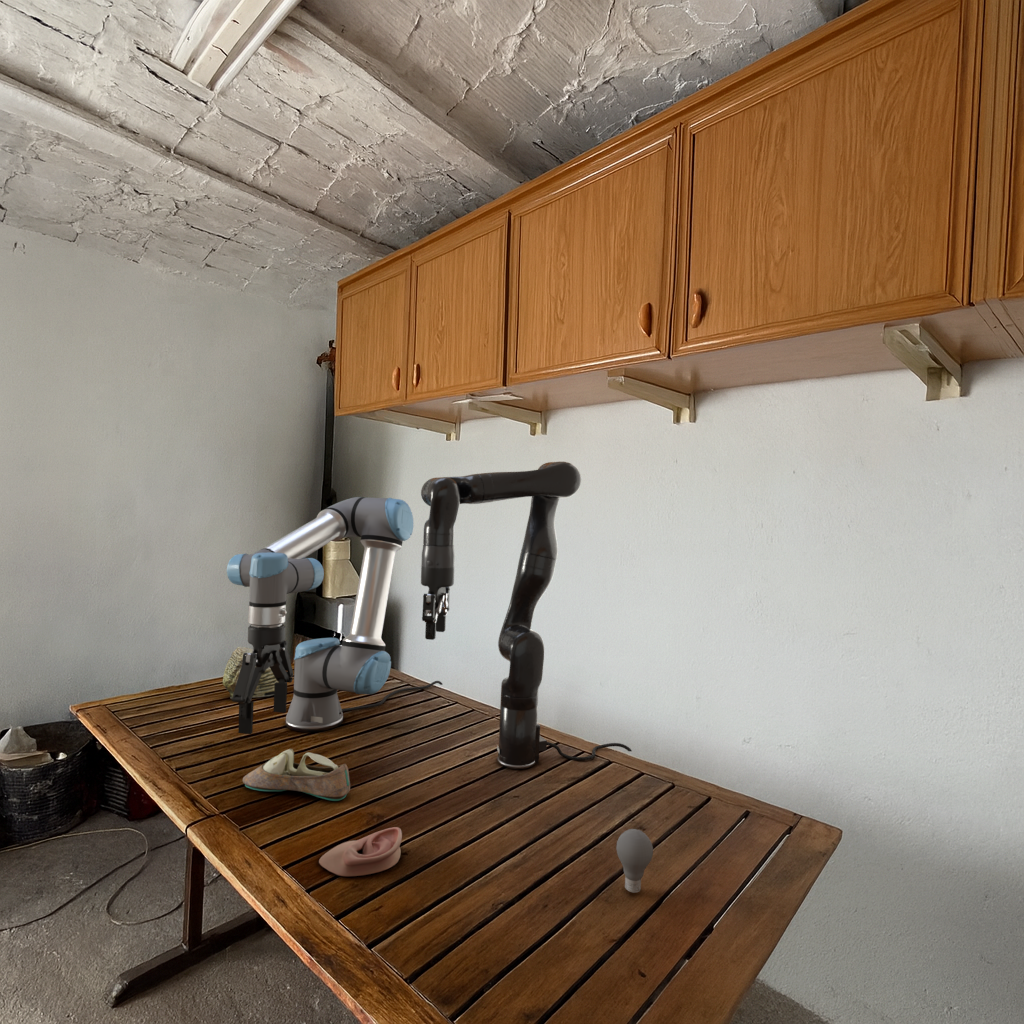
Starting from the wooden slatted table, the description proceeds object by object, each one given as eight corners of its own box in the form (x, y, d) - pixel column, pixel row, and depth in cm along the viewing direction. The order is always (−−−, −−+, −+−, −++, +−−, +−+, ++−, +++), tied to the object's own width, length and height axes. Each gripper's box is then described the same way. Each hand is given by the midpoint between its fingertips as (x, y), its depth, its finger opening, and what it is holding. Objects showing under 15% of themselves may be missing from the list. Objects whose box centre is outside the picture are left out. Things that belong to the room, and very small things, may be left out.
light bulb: (610, 879, 108) (613, 822, 108) (644, 879, 109) (647, 822, 109) (619, 902, 102) (622, 840, 102) (655, 901, 103) (658, 840, 103)
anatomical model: (310, 847, 107) (342, 815, 118) (309, 871, 107) (341, 836, 118) (384, 860, 104) (409, 825, 116) (383, 884, 104) (408, 847, 116)
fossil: (218, 695, 195) (220, 647, 195) (278, 685, 208) (279, 640, 207) (228, 703, 189) (230, 653, 188) (289, 692, 201) (290, 645, 201)
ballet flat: (255, 775, 143) (256, 738, 142) (358, 787, 139) (360, 749, 139) (233, 791, 134) (234, 753, 134) (343, 805, 131) (344, 765, 130)
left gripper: (250, 637, 124) (246, 745, 124) (310, 615, 149) (307, 705, 149) (215, 634, 125) (211, 741, 126) (281, 613, 150) (277, 702, 150)
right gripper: (446, 568, 137) (443, 643, 137) (461, 562, 151) (458, 630, 151) (412, 567, 138) (410, 641, 138) (430, 561, 152) (428, 628, 153)
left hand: (263, 722), depth 137 cm, fingers open, 13 cm apart
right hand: (435, 635), depth 145 cm, fingers open, 8 cm apart
